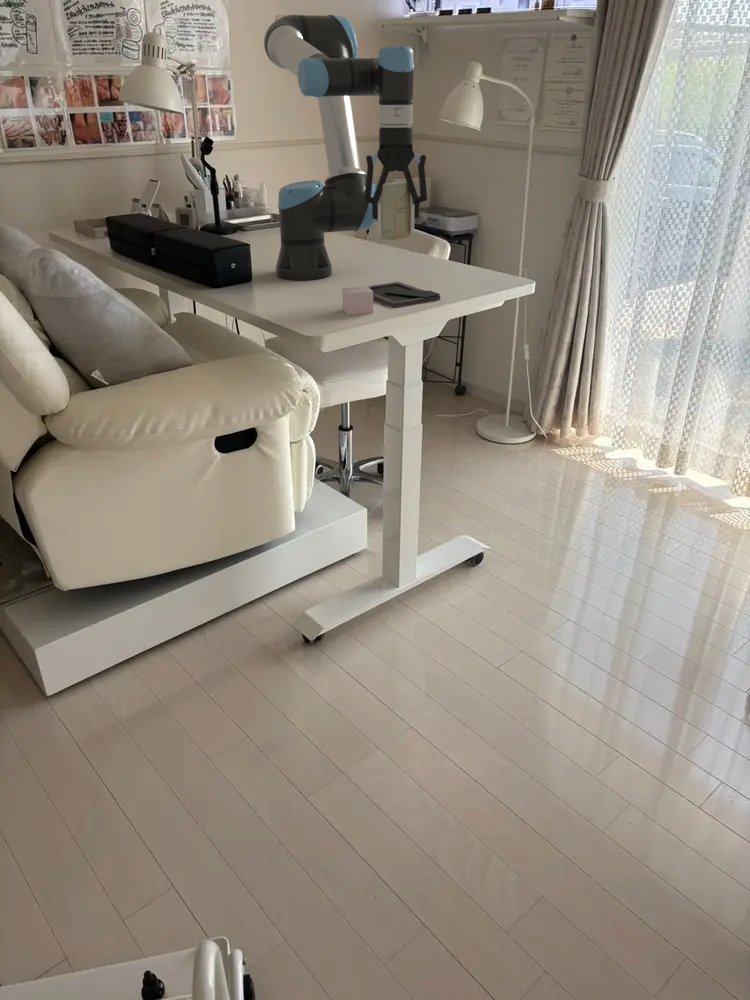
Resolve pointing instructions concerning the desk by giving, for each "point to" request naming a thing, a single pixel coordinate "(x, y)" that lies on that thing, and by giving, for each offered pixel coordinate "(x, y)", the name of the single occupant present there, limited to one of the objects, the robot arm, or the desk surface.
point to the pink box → (357, 300)
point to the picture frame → (401, 294)
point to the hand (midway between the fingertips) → (395, 233)
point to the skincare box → (395, 211)
